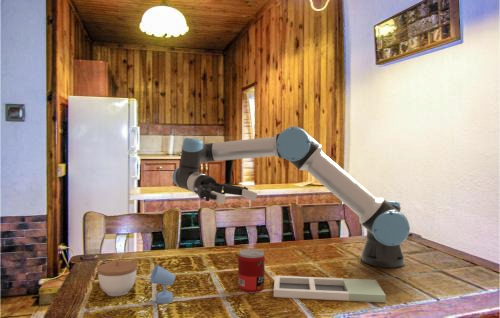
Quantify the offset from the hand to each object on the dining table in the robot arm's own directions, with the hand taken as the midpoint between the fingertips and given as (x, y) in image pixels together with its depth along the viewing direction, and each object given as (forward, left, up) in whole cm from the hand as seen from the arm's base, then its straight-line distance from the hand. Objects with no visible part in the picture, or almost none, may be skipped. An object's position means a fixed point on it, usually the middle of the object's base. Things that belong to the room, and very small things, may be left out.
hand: (240, 198), depth 118 cm
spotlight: (+19, +19, -26) cm, 38 cm away
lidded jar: (+34, +15, -26) cm, 46 cm away
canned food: (-4, +7, -26) cm, 28 cm away
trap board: (-27, +7, -26) cm, 38 cm away
